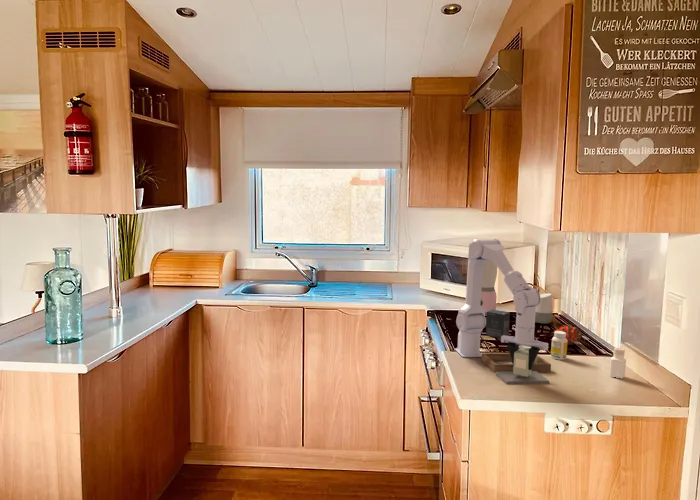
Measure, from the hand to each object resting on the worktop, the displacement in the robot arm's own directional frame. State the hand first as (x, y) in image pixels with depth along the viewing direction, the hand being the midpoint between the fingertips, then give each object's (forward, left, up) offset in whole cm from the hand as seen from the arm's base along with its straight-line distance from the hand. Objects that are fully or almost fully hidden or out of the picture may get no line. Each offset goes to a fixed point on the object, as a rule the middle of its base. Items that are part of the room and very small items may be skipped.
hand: (522, 367), depth 168 cm
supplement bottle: (-20, +23, -4) cm, 31 cm away
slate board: (0, 0, -4) cm, 4 cm away
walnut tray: (-12, +3, -4) cm, 13 cm away
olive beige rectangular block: (0, 0, -2) cm, 2 cm away
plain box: (-12, +8, -4) cm, 15 cm away
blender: (-87, +18, -4) cm, 89 cm away
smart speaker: (-71, +41, -4) cm, 83 cm away
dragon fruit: (-37, +35, -4) cm, 52 cm away
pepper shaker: (0, +33, -4) cm, 33 cm away
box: (-49, +11, -4) cm, 51 cm away
